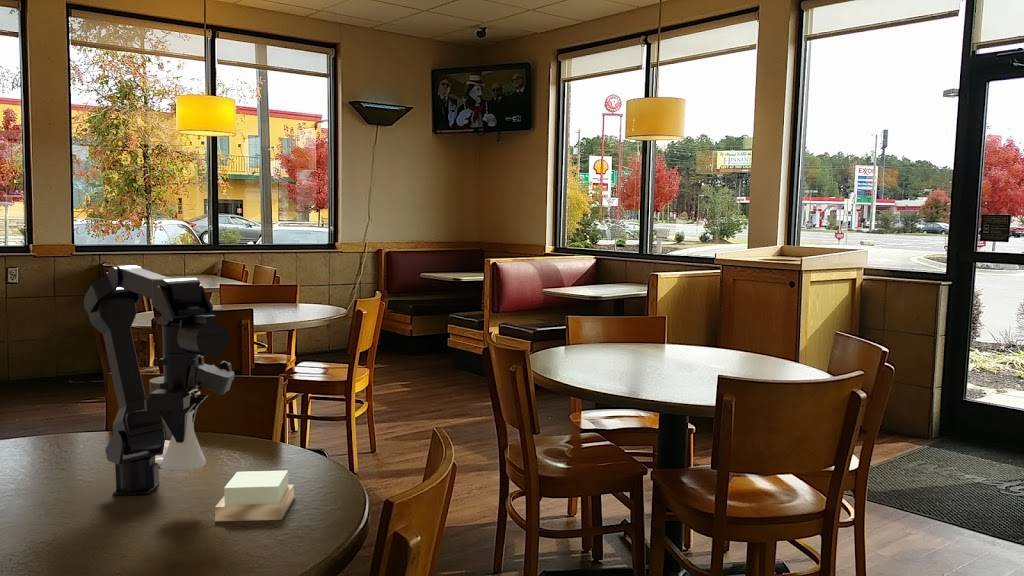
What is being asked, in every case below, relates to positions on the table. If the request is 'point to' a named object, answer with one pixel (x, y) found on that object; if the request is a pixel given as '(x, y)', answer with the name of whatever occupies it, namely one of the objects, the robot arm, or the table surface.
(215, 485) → the table surface
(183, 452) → the flask
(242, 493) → the tower top
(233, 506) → the tower base
